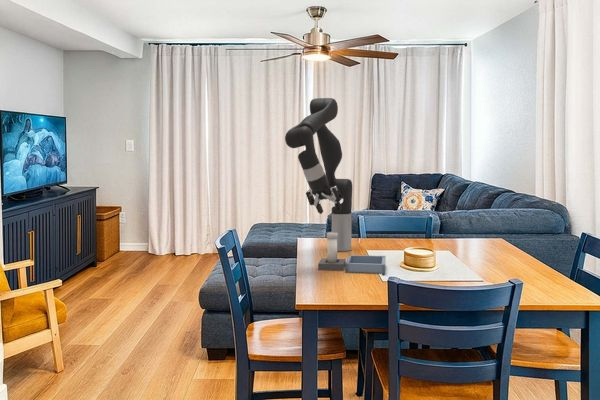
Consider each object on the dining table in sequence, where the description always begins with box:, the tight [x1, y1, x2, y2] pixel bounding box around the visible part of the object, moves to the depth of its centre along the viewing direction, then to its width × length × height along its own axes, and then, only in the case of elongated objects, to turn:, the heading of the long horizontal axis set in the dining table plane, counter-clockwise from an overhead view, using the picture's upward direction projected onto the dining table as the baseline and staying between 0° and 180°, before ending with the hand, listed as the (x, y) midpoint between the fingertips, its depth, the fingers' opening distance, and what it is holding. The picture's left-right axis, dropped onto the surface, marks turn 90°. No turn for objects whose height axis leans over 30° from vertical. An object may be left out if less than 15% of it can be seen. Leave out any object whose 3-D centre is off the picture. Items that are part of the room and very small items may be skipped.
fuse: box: [326, 231, 338, 263], centre depth 230 cm, size 4×4×14 cm
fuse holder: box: [317, 257, 347, 272], centre depth 230 cm, size 10×10×3 cm
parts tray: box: [344, 254, 386, 276], centre depth 228 cm, size 16×15×4 cm
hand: (330, 211), depth 226 cm, fingers open, 8 cm apart
